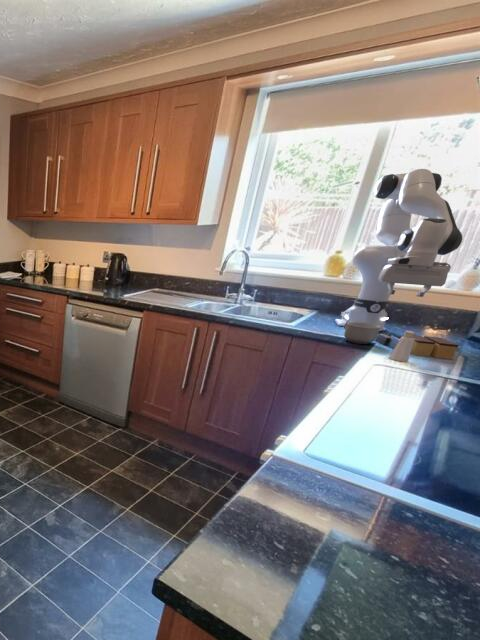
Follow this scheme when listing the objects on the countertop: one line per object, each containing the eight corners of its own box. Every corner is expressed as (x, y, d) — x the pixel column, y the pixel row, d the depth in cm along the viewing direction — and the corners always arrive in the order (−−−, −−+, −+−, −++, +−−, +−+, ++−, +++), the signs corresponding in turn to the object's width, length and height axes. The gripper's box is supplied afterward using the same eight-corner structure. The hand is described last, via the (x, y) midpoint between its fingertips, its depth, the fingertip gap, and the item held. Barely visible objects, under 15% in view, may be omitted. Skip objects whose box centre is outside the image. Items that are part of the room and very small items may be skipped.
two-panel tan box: (397, 347, 179) (403, 333, 176) (434, 351, 174) (440, 337, 172) (412, 354, 168) (418, 340, 166) (451, 359, 164) (458, 345, 162)
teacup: (379, 346, 178) (387, 328, 175) (350, 344, 180) (357, 326, 177) (358, 338, 191) (365, 320, 188) (331, 336, 192) (337, 318, 190)
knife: (375, 340, 188) (379, 330, 186) (382, 341, 187) (386, 331, 185) (399, 353, 169) (404, 343, 167) (407, 354, 168) (412, 344, 166)
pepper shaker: (409, 362, 158) (422, 334, 154) (390, 360, 160) (402, 331, 156) (405, 359, 162) (418, 331, 158) (386, 356, 165) (398, 328, 160)
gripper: (447, 262, 170) (433, 297, 175) (383, 258, 177) (371, 292, 182) (457, 263, 165) (442, 298, 169) (391, 259, 172) (378, 293, 176)
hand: (405, 295), depth 176 cm, fingers open, 8 cm apart
